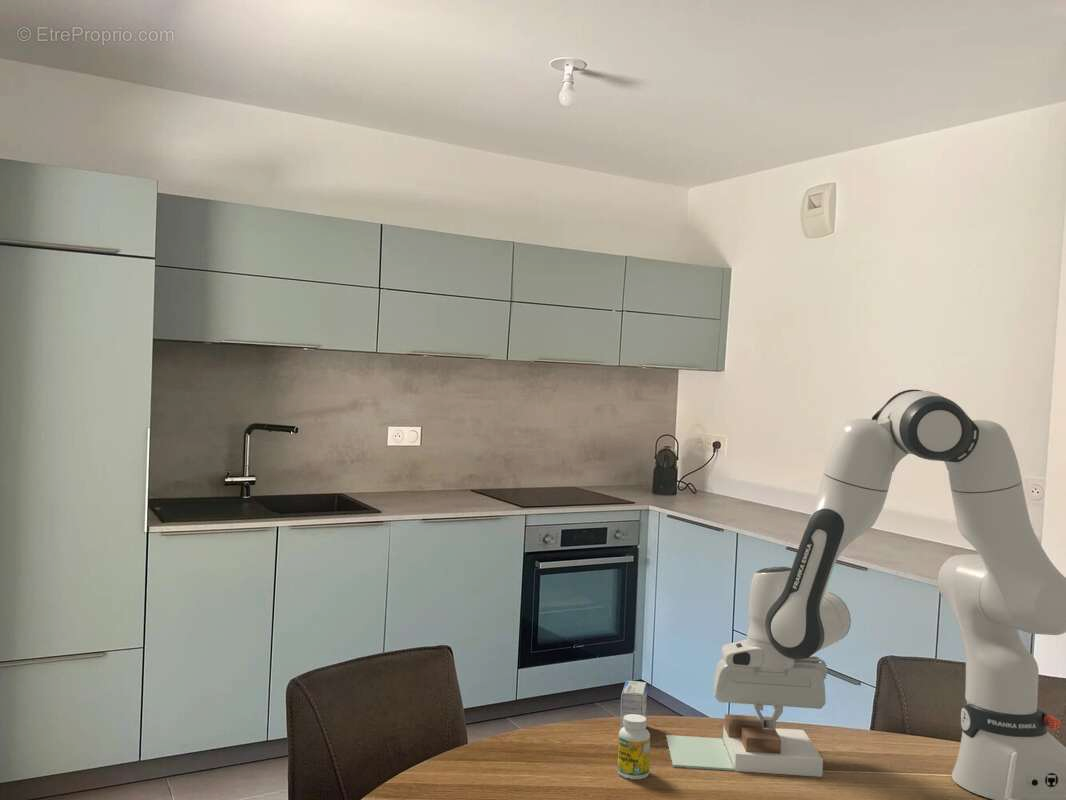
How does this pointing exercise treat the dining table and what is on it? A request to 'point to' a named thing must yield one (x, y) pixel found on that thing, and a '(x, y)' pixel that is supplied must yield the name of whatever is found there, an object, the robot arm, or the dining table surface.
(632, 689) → the medicine box
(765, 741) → the near tile
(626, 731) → the supplement bottle
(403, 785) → the dining table surface
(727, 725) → the far tile
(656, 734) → the dining table surface
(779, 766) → the white flat block
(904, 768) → the dining table surface
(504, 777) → the dining table surface
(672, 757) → the mat
